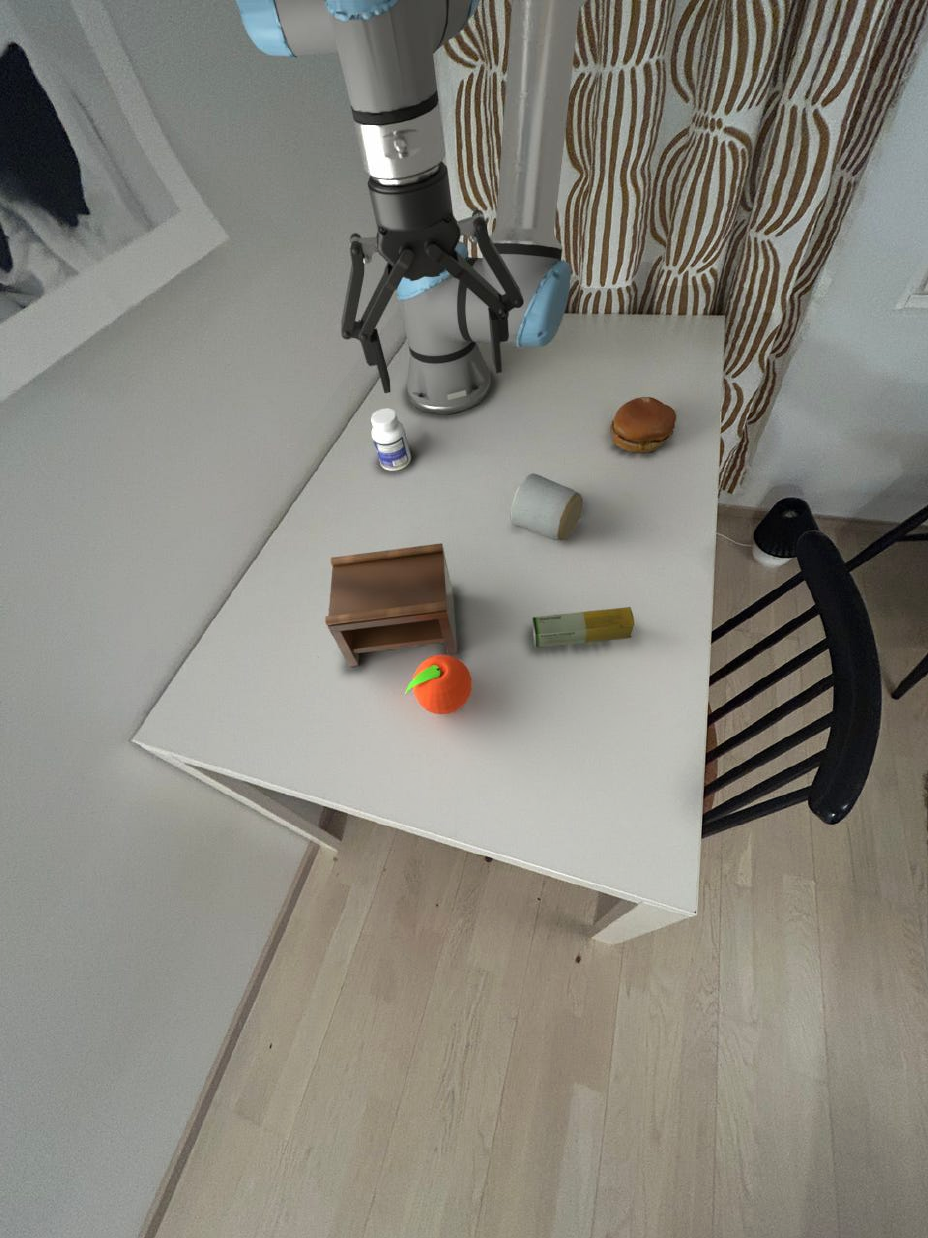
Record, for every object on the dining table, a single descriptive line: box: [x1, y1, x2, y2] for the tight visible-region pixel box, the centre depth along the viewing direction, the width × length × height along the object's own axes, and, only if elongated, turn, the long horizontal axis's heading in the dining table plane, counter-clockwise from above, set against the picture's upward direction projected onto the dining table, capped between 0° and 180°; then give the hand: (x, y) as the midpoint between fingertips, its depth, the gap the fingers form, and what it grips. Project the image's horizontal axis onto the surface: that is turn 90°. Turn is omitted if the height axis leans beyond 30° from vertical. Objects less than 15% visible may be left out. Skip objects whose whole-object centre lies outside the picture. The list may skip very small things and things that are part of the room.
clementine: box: [404, 654, 473, 715], centre depth 68 cm, size 8×7×7 cm
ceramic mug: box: [510, 473, 584, 541], centre depth 82 cm, size 11×8×8 cm
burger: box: [610, 396, 677, 454], centre depth 92 cm, size 10×9×5 cm
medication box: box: [531, 606, 635, 649], centre depth 72 cm, size 12×3×4 cm, turn 92°
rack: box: [324, 542, 458, 667], centre depth 73 cm, size 10×14×10 cm
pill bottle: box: [370, 407, 412, 472], centre depth 94 cm, size 5×5×9 cm
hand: (442, 376), depth 71 cm, fingers open, 13 cm apart
